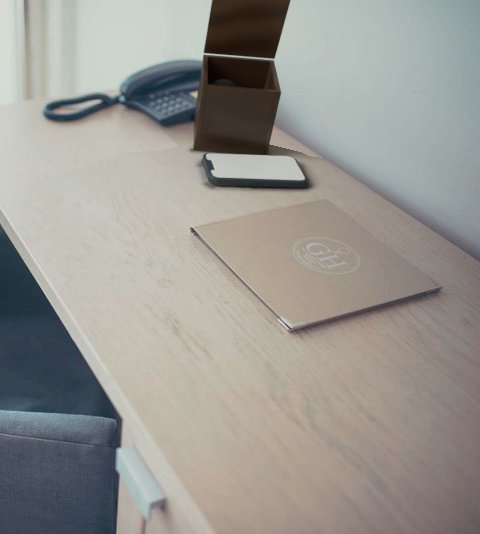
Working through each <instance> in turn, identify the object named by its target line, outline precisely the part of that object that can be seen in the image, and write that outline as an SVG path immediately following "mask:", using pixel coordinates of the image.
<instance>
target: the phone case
mask: <svg viewBox="0 0 480 534" xmlns="http://www.w3.org/2000/svg"><path fill="white" fill-rule="evenodd" d="M201 163H202V166H203V170H204V172H205V175H206V178H207V182H208V183H210V184H211V185H214V186H233V187H261V188H262V187H263V188H290V189H291V188H292V189H293V188H294V189H303V188H305V187H306V186H307V184H308V177H307V175H306V174H305V172H304V170H303V168H302V167H301V165H300V162H299V161H298V159H296V157H294V156H290V155H275V154H274V155H271V154H267V155H249V154H229V153H219V152H206V153H204V154H203V155H202V159H201Z"/></svg>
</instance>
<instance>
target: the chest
mask: <svg viewBox="0 0 480 534" xmlns="http://www.w3.org/2000/svg"><path fill="white" fill-rule="evenodd" d="M200 67H201V68H200V75H199V81H198V87H197V88H198V89H197V95H196V101H195V102H196V103H195V108H196V109H195V108H194V116H193V117H194V118H193V119H194V120H193V146H192V149H193V151H200V152H208V153H222V154H249V155H268V151H269V147H270V143H271V138H272V135H273V130H274V126H275V122H276V117H277V113H278V109H279V105H280V100H281V96H282V90H281V86H280V81H279V77H278V73H277V72H278V71H277V67H276V64H275V59H265V58H253V57H241V56H228V55H216V54H203V55H202V62H201V66H200ZM220 79H226V80H230V81H232V82H233V83H234V84H235V85H236V86H237V87H234V86H222V85H211V84H212V83H213V82H215V81H217V80H220Z"/></svg>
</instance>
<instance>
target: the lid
mask: <svg viewBox="0 0 480 534" xmlns="http://www.w3.org/2000/svg"><path fill="white" fill-rule="evenodd" d="M290 3H291V0H211V4H210V11H209V17H208V21H207V22H208V23H207V28H206V35H205V42H204V47H203V54H207V55H219V56H232V57H244V58H256V59H269V60H275V59H276V56H277V52H278V48H279V44H280V40H281V37H282V34H283V30H284V26H285V22H286V20H287V15H288V12H289V9H290Z"/></svg>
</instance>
